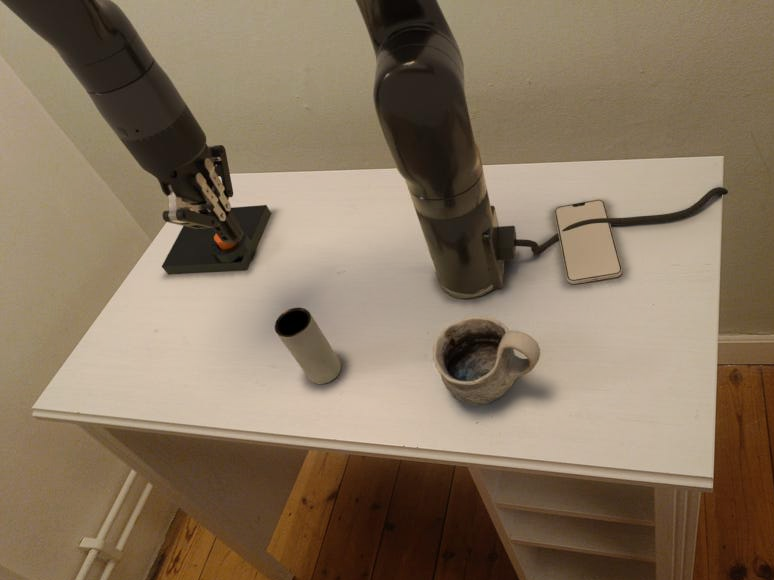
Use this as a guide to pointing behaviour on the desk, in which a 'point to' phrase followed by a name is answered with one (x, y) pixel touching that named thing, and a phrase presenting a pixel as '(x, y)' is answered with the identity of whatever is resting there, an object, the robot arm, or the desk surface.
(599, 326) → the desk surface
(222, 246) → the button
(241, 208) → the dark grey flat block
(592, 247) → the smartphone
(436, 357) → the mug
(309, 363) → the grey cylinder
